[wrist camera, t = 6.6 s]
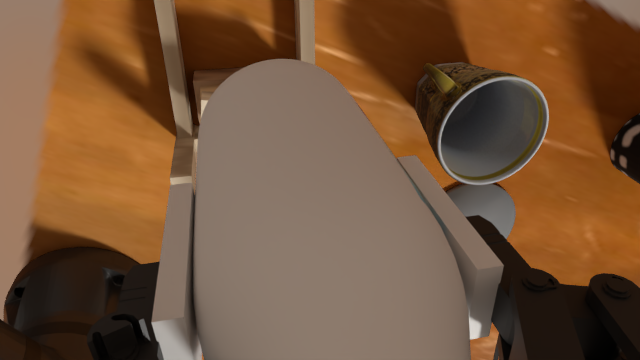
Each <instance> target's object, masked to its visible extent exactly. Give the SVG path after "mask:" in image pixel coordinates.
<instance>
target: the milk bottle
mask: <svg viewBox="0 0 640 360" xmlns="http://www.w3.org/2000/svg"><path fill="white" fill-rule="evenodd" d="M193 294H194V311H195V318H196V325H197V332H198V338H199V342H200V345H201V349H202V353H203V356H204V360H471V355H470V328H469V316H468V307H467V301H466V295H465V290H464V285H463V281H462V278H461V275H460V272H459V269H458V265H457V262H456V259H455V256H454V254H453V252H452V250H451V248H450V246H449V243H448V241H447V239H446V237H445V235H444V233H443V231H442V228H441V227H440V225H439V223H438V222H437V220H436V219H435V217H434V215H433V214H432V212H431V211H430V209H429V207H428V206H427V204H426V202H425V201H424V199H423V198H422V196H421V194H420V193H419V191H418V190H417V188H416V187H415V185H414V184H413V182H412V181H411V179H410V178H409V177H408V175H407V174H406V172H405V171H404V169H403V168H402V166H401V165H400V164H399V162H398V161H397V159H396V158H395V156H394V155H393V153H392V152H391V151H390V149H389V148H388V146H387V145H386V143H385V142H384V141H383V139H382V138H381V136H380V135H379V134H378V132H377V131H376V129H375V128H374V127H373V125H372V124H371V122H370V121H369V120H368V118H367V117H366V115H365V114H364V113H363V111H362V110H361V108H360V107H359V106H358V104H357V103H356V102H355V100H354V99H353V97H352V96H351V95H350V94H349V92H348V91H347V90H346V89H345V88H344V86H343V85H342V84H341V83H340V82H339V81H338V80H337V79H336V78H335V77H334V76H332V75H331V74H330V73H328V72H327V71H325V70H324V69H322V68H320V67H318V66H316V65H313V64H310V63H308V62H304V61H300V60H294V59H272V60H265V61H261V62H257V63H254V64H251V65H249V66H247V67H244V68H242V69H240V70H239V71H237V72H235V73H234V74H232V75H231V76H230V77H228V78H227V79H226V80H225V81H224V82H223V83H221V85H220V86H219V87H218V88H217V89H216V90H215V91H214V93H213V94H212V96H211V97H210V99H209V100H208V102H207V104H206V106H205V108H204V111H203V114H202V117H201V121H200V126H199V134H198V146H197V163H196V184H195V205H194V235H193Z"/></svg>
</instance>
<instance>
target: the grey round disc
mask: <svg viewBox="0 0 640 360" xmlns="http://www.w3.org/2000/svg"><path fill="white" fill-rule="evenodd" d="M446 194H447V195H448V196H449V197H450V199H451V200H452V201H453V202H454V204H455V205H456V206H457V207H458V209H459V210H460V211H461V212H462V214H463V215H464V216H465V217H468V216H475V215H480V216H481V217H483V218H485V219H486V220H488V221H490V222H492V223H493V225H494V226H495V227H496V228H497V229H498V230H499V232H500V234H502V235H503V236H504V237H505V238H507V237H508V235H509V234H510V232H511V230H512V227H513V225H514V221H515V205H514V202H513V200H512V198H511V197H510V195H509V194H508V193H507V192H506V191H505V190H504V189H503V188H501V187H500V186H498V185H496V184H493V183H491V184H486V185H470V184H461V185H458V186H456V187H454V188H452V189H450V190H448V191H447V192H446Z"/></svg>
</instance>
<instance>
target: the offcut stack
mask: <svg viewBox="0 0 640 360" xmlns="http://www.w3.org/2000/svg"><path fill="white" fill-rule="evenodd" d="M242 68H244V67H242ZM242 68H227V69H212V70H196V71H194V77H193V85H194V91H195V98H196V105H197V112H198V119H199V123H200V121H201V117H202V114H203V111H204V108H205V106H206V104H207V102H208V100H209V99H210V97H211V96H212V94H213V93H214V91H215V90H216V89H217V88H218V87H219V86H220V85H221V83H223V82H224V81H225V80H226V79H227V78H228V77H230V76H231V75H232V74H234V73H235V72H237V71H239V70H240V69H242Z"/></svg>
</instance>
